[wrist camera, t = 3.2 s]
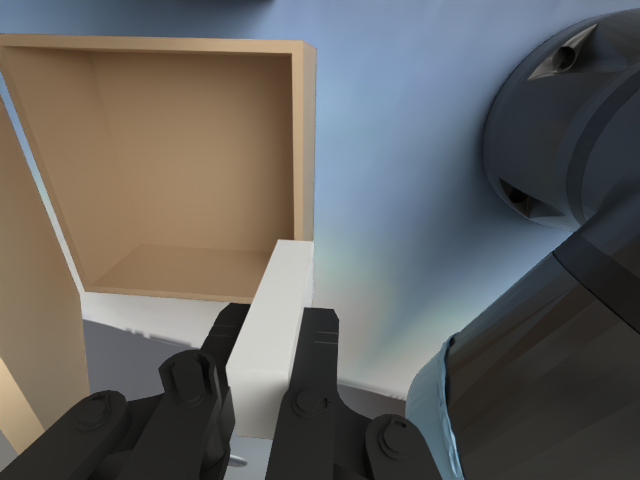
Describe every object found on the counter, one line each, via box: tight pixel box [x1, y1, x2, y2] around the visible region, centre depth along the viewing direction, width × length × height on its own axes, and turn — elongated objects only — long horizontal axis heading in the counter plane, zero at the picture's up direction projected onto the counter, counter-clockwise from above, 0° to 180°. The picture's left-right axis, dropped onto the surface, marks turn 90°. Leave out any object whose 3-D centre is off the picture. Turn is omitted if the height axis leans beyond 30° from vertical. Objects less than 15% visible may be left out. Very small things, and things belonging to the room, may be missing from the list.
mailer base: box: [0, 33, 317, 304], centre depth 26 cm, size 18×18×8 cm
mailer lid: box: [0, 95, 90, 455], centre depth 16 cm, size 19×18×1 cm
